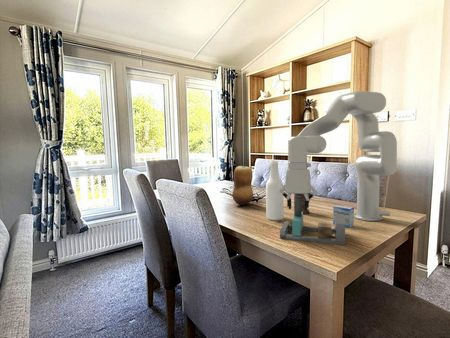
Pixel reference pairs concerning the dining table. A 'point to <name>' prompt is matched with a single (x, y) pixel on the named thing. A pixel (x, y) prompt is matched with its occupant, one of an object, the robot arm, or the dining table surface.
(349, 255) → the dining table surface
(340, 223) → the vise bed
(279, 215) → the alcohol
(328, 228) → the walnut block
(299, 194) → the brown bust statue
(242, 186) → the butternut squash
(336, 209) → the medicine box
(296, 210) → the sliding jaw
